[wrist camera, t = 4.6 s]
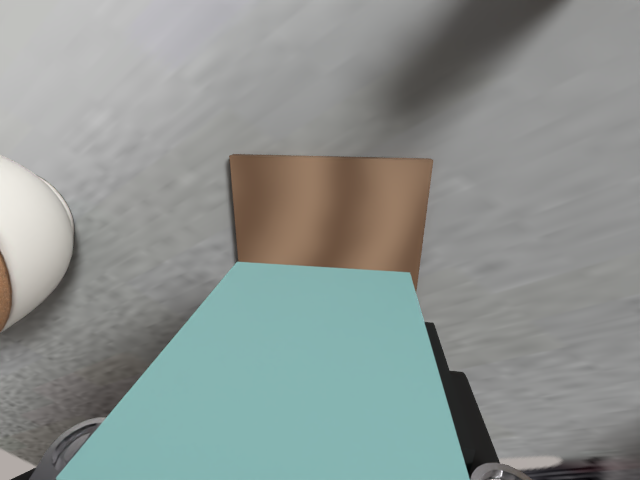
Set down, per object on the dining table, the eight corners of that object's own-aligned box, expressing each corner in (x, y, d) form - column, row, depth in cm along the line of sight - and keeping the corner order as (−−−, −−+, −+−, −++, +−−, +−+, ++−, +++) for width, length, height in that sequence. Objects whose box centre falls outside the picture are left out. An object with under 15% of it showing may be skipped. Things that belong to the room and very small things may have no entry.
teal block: (409, 272, 10) (487, 538, 4) (394, 407, 12) (427, 734, 6) (237, 261, 10) (54, 478, 4) (248, 392, 12) (132, 674, 6)
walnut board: (430, 158, 22) (433, 160, 21) (401, 387, 29) (402, 394, 28) (233, 154, 23) (229, 155, 22) (251, 375, 30) (248, 382, 29)
